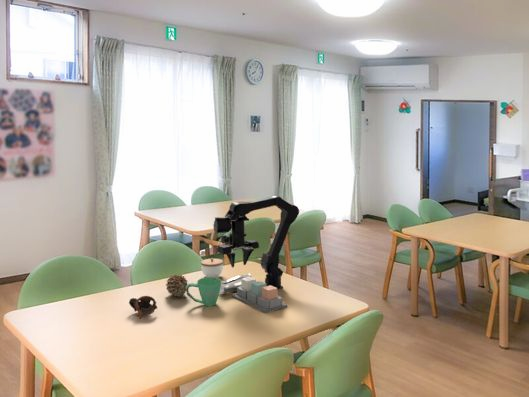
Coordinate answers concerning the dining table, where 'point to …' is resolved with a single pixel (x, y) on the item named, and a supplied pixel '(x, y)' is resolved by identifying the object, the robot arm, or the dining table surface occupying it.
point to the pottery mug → (143, 305)
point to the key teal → (257, 287)
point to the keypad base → (259, 301)
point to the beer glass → (232, 284)
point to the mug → (206, 290)
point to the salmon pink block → (269, 292)
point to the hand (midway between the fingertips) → (238, 266)
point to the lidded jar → (212, 267)
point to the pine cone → (176, 285)
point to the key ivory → (247, 283)
